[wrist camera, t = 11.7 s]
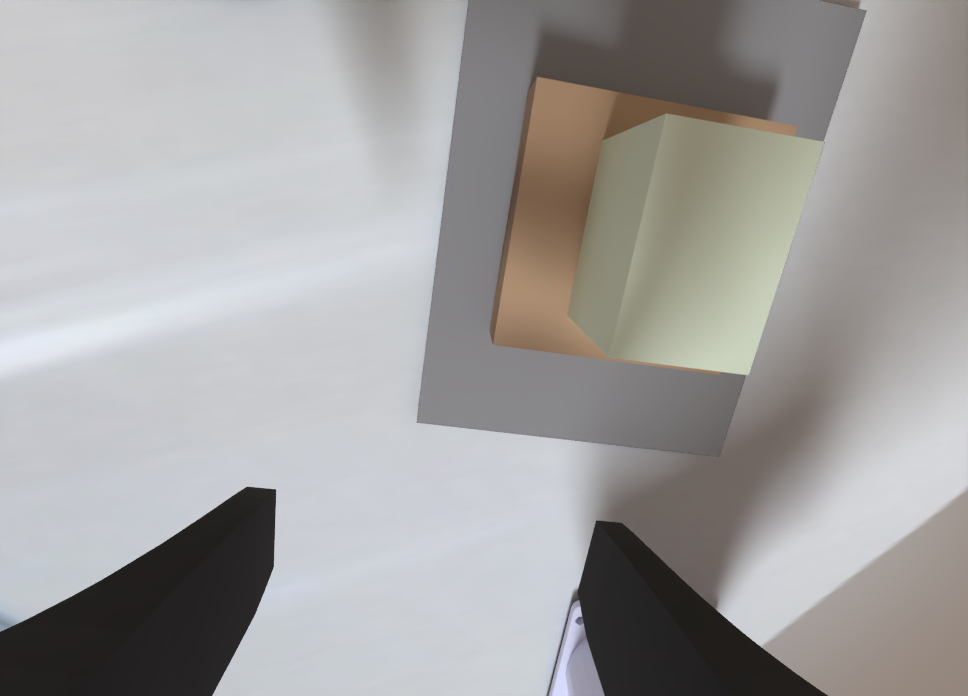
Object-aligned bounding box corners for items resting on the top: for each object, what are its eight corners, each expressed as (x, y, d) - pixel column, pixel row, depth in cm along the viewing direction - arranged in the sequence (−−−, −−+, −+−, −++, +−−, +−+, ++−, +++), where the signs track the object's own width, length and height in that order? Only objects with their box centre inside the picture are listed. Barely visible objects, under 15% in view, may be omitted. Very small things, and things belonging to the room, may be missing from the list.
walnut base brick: (695, 358, 20) (719, 374, 18) (489, 331, 19) (492, 345, 18) (761, 134, 18) (798, 126, 16) (528, 90, 17) (537, 76, 15)
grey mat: (713, 451, 22) (718, 456, 22) (417, 417, 21) (416, 422, 20) (855, 16, 17) (866, 10, 17) (477, -67, 16) (477, -75, 15)
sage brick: (670, 329, 18) (748, 375, 13) (567, 315, 17) (608, 357, 13) (715, 160, 16) (824, 141, 11) (602, 140, 16) (666, 113, 11)
